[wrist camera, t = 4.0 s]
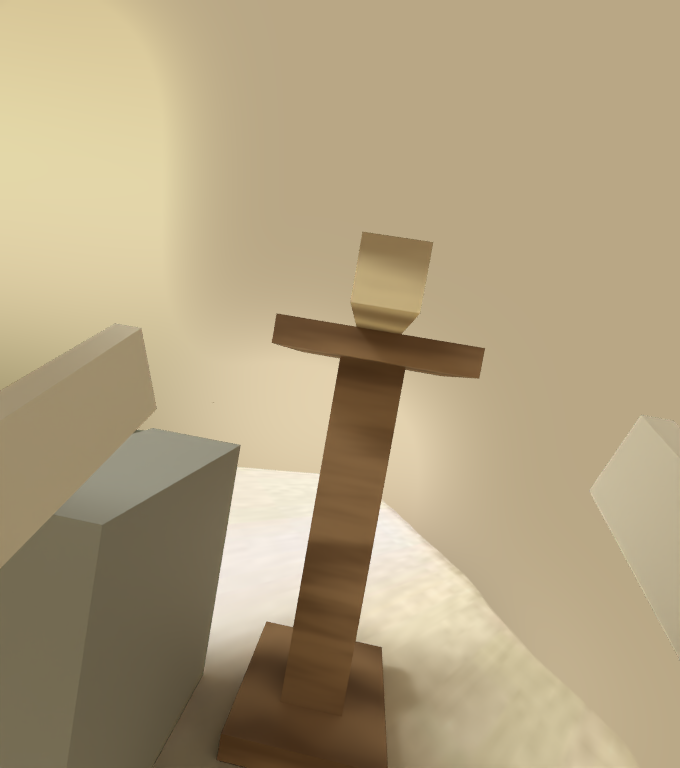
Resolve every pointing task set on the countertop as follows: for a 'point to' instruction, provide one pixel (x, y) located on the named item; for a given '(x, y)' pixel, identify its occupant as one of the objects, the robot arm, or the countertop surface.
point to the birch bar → (389, 282)
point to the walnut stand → (335, 566)
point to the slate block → (114, 607)
